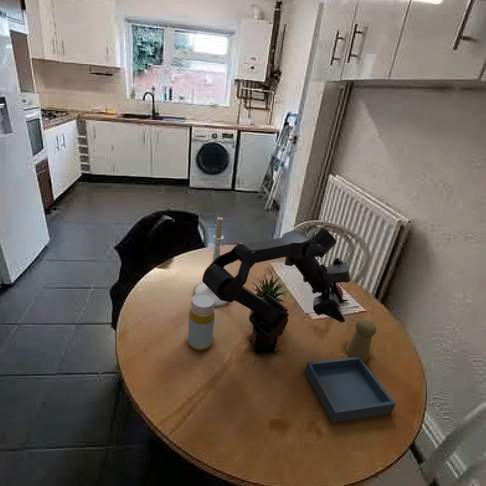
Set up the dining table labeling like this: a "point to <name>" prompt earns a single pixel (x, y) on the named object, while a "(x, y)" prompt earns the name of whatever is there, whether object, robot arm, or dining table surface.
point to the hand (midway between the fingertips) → (342, 310)
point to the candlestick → (218, 241)
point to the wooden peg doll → (361, 339)
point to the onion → (340, 289)
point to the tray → (348, 389)
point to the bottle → (201, 321)
